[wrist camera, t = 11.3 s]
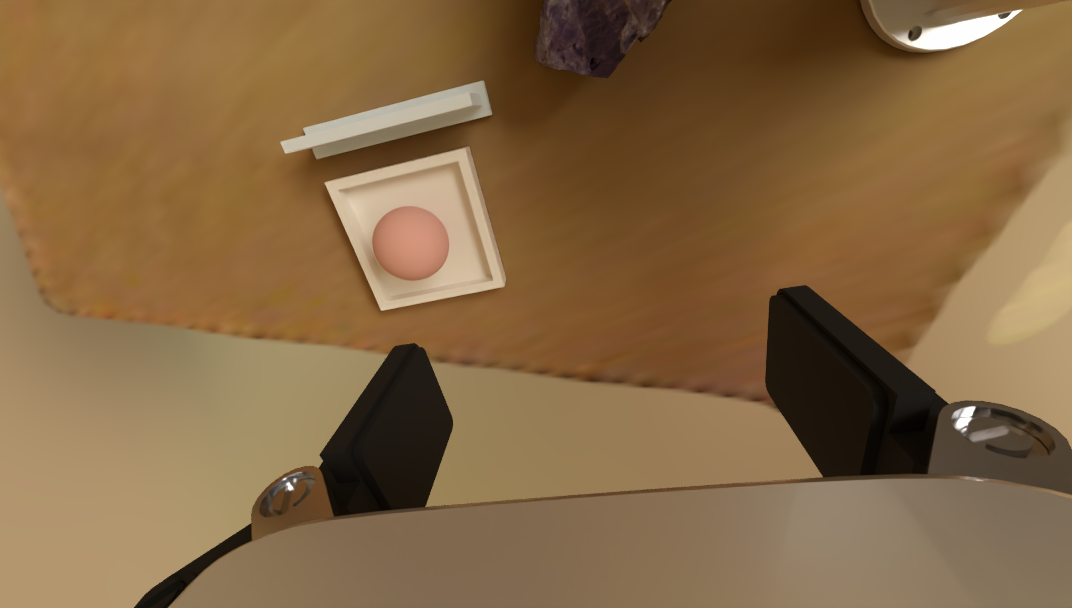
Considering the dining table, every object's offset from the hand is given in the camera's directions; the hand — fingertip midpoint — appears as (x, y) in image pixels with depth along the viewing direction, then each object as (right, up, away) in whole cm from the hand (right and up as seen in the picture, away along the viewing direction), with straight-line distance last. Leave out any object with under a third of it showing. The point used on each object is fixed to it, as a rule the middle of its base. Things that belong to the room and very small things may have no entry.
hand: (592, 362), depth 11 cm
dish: (-12, +8, +25) cm, 29 cm away
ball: (-12, +8, +25) cm, 28 cm away
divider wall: (-13, +16, +21) cm, 29 cm away
